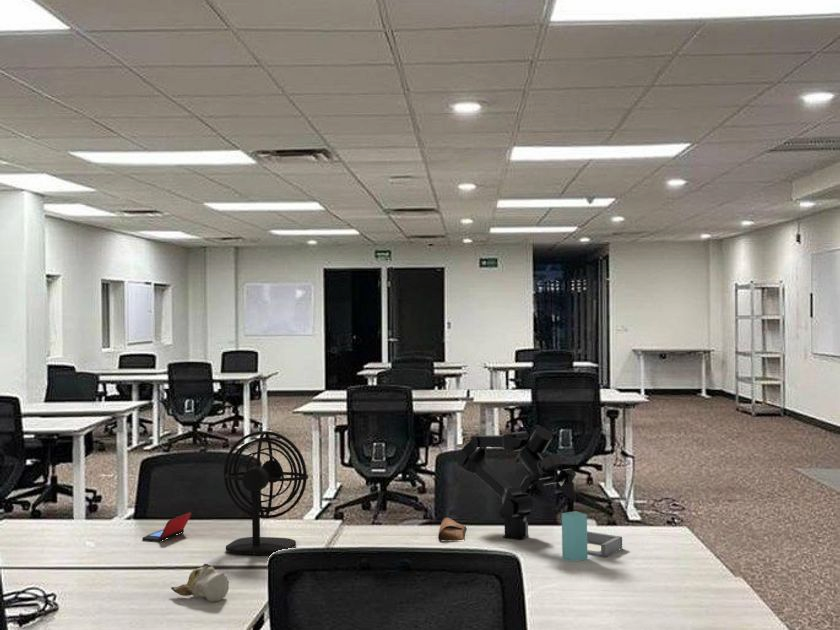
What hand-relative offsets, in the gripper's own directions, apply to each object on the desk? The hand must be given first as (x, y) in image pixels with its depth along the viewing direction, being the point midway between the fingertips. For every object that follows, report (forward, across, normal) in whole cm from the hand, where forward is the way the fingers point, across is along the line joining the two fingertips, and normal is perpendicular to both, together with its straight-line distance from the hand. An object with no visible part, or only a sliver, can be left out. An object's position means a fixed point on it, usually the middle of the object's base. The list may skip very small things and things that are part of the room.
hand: (564, 502), depth 250 cm
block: (+14, -3, +7) cm, 16 cm away
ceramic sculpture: (-11, -100, +27) cm, 104 cm away
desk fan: (-37, -69, +48) cm, 92 cm away
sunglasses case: (-19, -14, +34) cm, 42 cm away
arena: (+12, +8, +9) cm, 17 cm away
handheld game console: (-62, -88, +68) cm, 127 cm away
